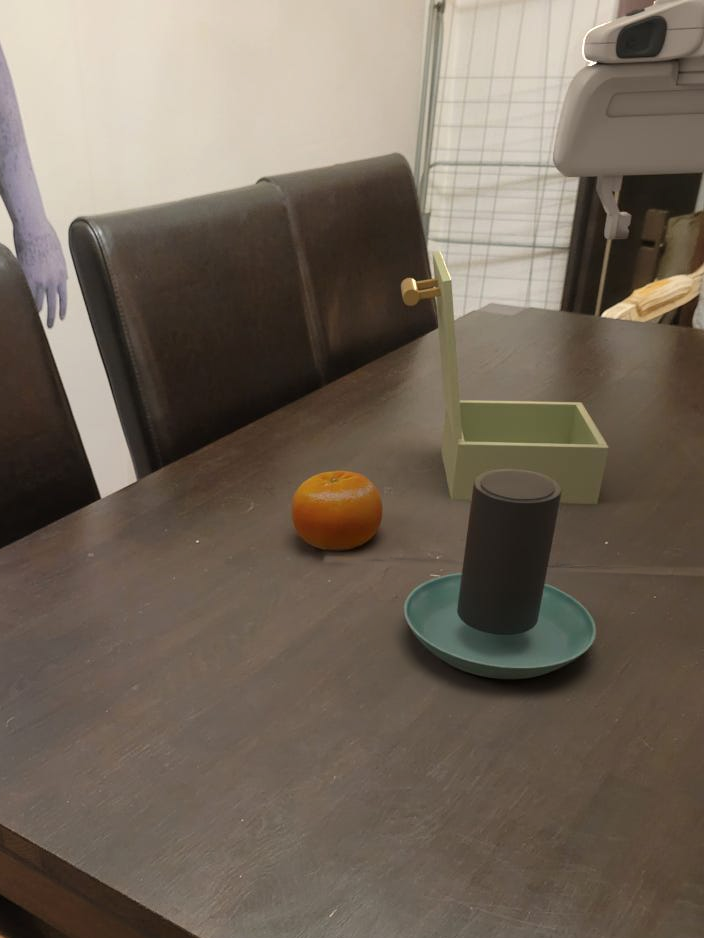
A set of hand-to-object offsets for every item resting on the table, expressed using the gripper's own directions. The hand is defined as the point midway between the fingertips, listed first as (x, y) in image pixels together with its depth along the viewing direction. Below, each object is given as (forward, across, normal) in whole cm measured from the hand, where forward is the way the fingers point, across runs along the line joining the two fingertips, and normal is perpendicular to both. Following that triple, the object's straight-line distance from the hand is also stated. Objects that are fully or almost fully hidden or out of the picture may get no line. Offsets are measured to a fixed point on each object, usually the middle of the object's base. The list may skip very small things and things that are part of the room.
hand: (678, 236), depth 75 cm
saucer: (+28, +13, +17) cm, 35 cm away
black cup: (+25, +13, +17) cm, 33 cm away
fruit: (+27, +26, 0) cm, 38 cm away
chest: (+27, +8, -16) cm, 33 cm away
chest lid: (+12, +15, -16) cm, 25 cm away
